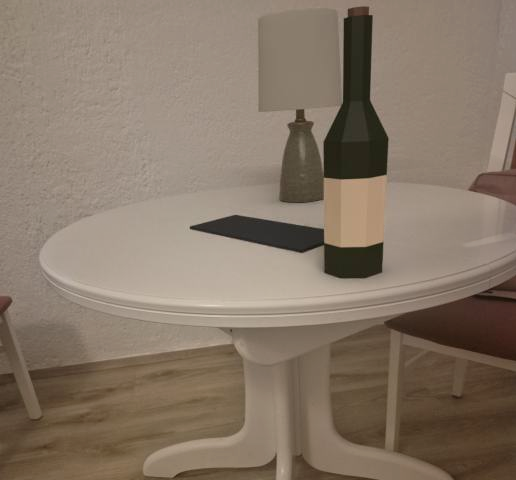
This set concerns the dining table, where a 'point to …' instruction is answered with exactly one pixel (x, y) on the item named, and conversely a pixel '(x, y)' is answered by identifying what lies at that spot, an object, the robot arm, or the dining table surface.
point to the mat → (265, 232)
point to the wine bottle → (355, 164)
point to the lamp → (299, 88)
